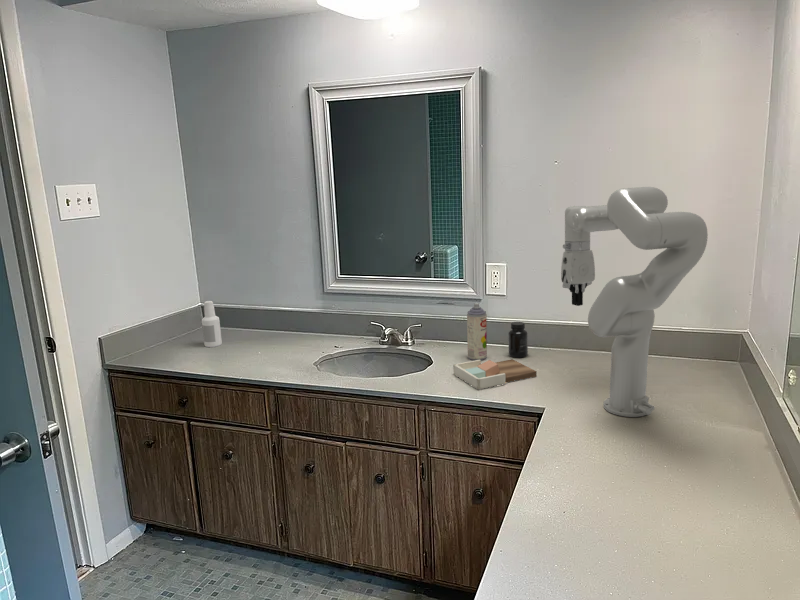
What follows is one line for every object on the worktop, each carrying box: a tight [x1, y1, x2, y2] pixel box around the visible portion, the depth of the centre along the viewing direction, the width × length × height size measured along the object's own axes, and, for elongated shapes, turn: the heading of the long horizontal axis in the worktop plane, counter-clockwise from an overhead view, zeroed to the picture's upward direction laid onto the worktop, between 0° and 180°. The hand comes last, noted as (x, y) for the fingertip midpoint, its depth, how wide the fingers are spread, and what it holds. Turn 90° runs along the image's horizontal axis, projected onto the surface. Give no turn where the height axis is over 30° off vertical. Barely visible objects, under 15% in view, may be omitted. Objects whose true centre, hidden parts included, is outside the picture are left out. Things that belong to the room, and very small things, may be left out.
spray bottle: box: [201, 300, 223, 348], centre depth 247 cm, size 7×7×18 cm
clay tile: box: [477, 359, 500, 377], centre depth 200 cm, size 5×5×3 cm
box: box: [452, 360, 506, 391], centre depth 199 cm, size 16×10×4 cm, turn 23°
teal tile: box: [465, 367, 486, 378], centre depth 198 cm, size 5×5×3 cm
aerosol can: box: [466, 302, 488, 361], centre depth 218 cm, size 7×7×20 cm
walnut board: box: [494, 358, 537, 383], centre depth 204 cm, size 14×12×2 cm
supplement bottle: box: [507, 321, 529, 359], centre depth 220 cm, size 7×7×12 cm
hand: (577, 304), depth 193 cm, fingers closed
